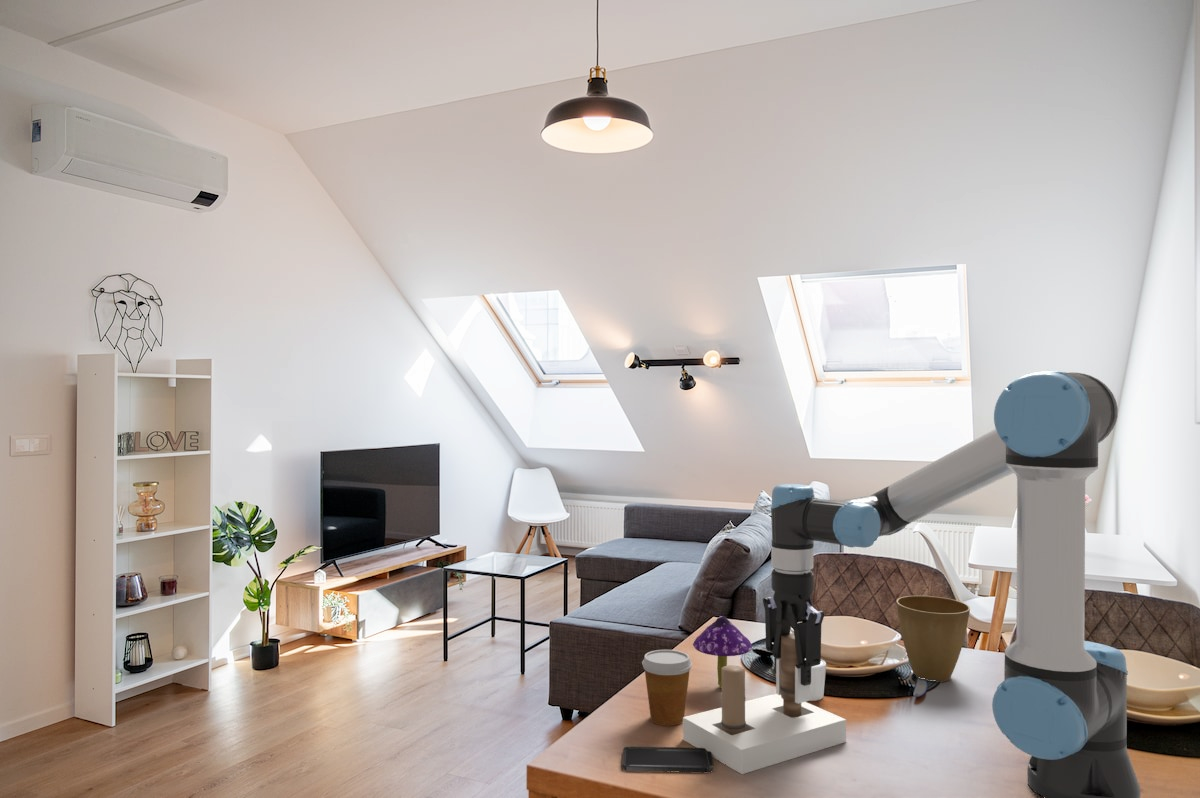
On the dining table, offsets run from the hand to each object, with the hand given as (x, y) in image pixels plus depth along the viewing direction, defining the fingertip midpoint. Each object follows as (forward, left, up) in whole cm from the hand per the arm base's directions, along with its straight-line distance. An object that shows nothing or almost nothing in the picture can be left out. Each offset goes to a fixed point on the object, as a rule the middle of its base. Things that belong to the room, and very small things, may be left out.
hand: (792, 697), depth 151 cm
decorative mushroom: (+25, -4, -7) cm, 26 cm away
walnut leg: (0, 0, -3) cm, 3 cm away
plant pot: (+6, -47, -7) cm, 48 cm away
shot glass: (+12, -16, -7) cm, 21 cm away
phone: (+2, +26, -7) cm, 27 cm away
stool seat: (0, +7, -6) cm, 10 cm away
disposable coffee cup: (+17, +16, -7) cm, 24 cm away
